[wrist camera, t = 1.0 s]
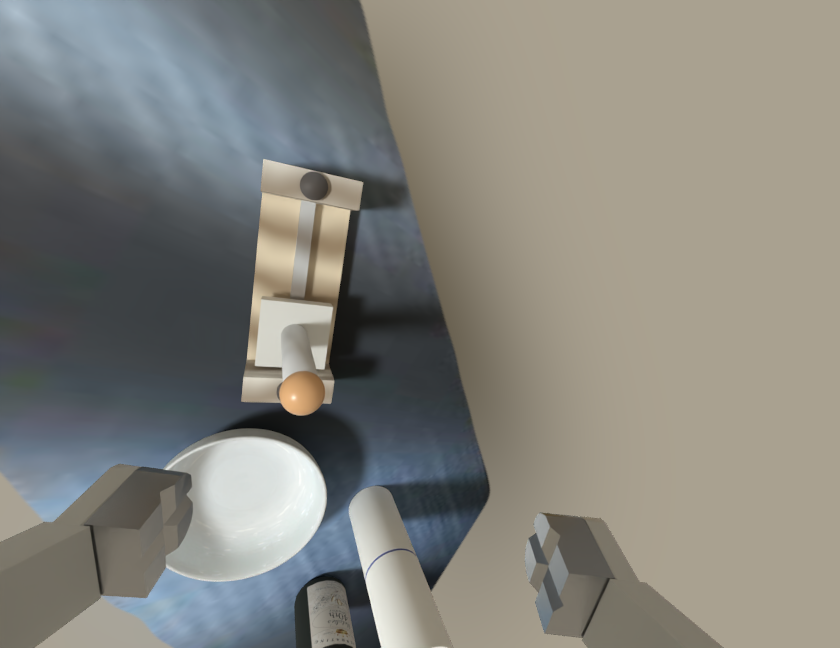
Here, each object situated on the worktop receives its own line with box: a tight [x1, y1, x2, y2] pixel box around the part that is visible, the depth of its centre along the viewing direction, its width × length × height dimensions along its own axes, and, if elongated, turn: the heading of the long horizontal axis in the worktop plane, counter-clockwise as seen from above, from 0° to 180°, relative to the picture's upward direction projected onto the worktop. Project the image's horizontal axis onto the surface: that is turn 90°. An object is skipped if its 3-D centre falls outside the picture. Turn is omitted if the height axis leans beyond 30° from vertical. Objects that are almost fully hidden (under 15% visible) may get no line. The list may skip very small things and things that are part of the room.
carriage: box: [255, 296, 333, 415], centre depth 39 cm, size 8×8×20 cm
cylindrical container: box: [349, 486, 453, 648], centre depth 51 cm, size 7×7×25 cm
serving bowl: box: [163, 428, 327, 582], centre depth 51 cm, size 21×21×7 cm
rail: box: [241, 159, 363, 403], centre depth 46 cm, size 26×10×7 cm, turn 169°
